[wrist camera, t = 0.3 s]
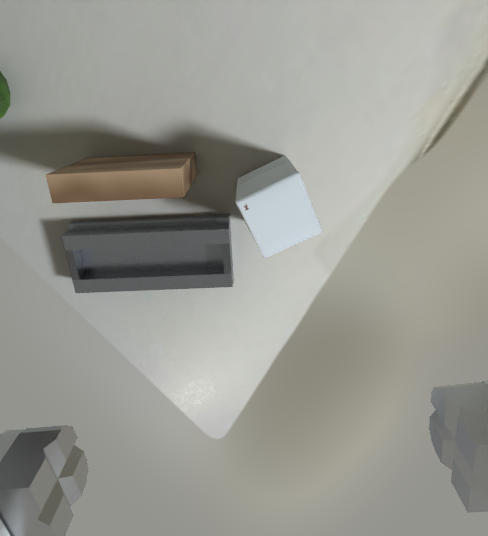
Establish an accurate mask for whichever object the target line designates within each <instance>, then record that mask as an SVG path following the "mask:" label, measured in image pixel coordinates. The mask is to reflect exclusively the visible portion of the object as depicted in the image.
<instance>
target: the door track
mask: <svg viewBox="0 0 488 536" xmlns="http://www.w3.org/2000/svg"><path fill="white" fill-rule="evenodd" d="M68 226H69V231H68V232H67V233H65V234H64V235H63V236H62V240H63V244H64V248H65V252H66V256H67V260H68V264H69V268H70V272H71V276H72V280H73V284H74V288H75V292H76V293H89V292H114V291H139V290H164V289H189V288H214V287H232V286H233V281H234V278H233V262H232V247H231V231H230V216H229V215H207V216H184V217H162V218H139V219H117V220H94V221H73V222H71V223H70V224H68Z"/></svg>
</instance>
